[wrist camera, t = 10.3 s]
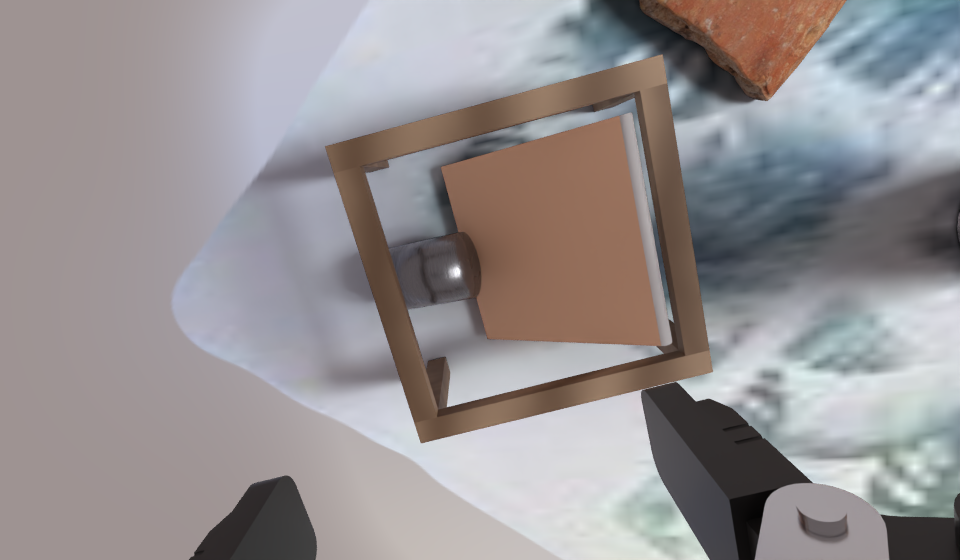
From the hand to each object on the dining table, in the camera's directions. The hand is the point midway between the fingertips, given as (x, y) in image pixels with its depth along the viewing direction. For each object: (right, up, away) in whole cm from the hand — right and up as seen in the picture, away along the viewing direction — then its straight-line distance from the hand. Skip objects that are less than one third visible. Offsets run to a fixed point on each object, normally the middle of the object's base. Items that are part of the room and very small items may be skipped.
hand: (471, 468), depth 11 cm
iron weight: (-1, +5, +23) cm, 24 cm away
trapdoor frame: (+3, +7, +27) cm, 28 cm away
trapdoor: (+5, +7, +22) cm, 24 cm away
